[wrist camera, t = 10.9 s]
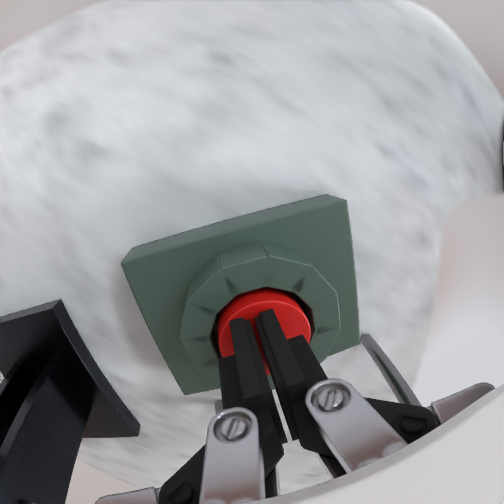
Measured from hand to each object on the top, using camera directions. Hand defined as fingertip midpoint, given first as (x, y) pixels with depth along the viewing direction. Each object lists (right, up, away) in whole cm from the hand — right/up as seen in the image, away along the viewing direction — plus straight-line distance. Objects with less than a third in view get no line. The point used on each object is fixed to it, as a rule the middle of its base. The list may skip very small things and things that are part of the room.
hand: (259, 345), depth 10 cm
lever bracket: (-14, -5, +4) cm, 16 cm away
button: (0, +1, +2) cm, 2 cm away
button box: (0, +1, +4) cm, 5 cm away
